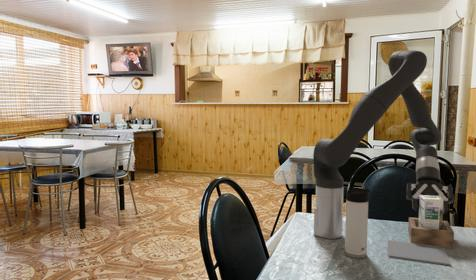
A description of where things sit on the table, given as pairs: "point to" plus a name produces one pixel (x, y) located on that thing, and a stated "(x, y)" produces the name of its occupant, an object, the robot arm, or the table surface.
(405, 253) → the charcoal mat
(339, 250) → the table surface
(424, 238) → the walnut holder
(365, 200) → the travel mug
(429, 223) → the syrup box
